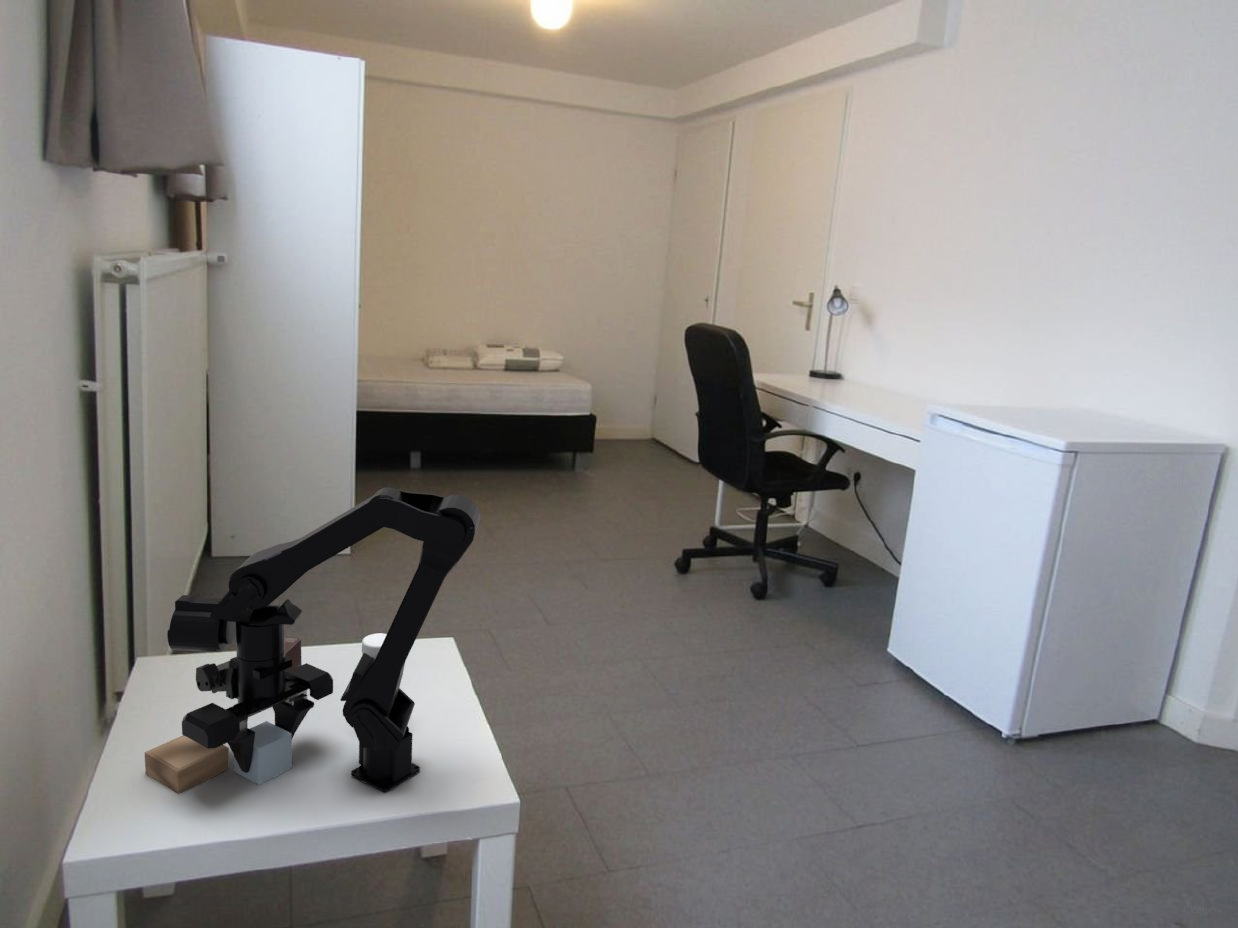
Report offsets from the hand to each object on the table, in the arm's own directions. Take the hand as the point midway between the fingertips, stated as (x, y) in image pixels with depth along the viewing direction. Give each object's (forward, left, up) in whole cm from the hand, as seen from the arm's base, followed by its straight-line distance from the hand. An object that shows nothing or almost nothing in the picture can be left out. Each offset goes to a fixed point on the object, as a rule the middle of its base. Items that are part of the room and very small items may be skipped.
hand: (263, 762), depth 115 cm
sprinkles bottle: (-3, -17, -1) cm, 17 cm away
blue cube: (0, 0, -1) cm, 1 cm away
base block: (+7, +6, -1) cm, 9 cm away
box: (+17, -15, -1) cm, 23 cm away
